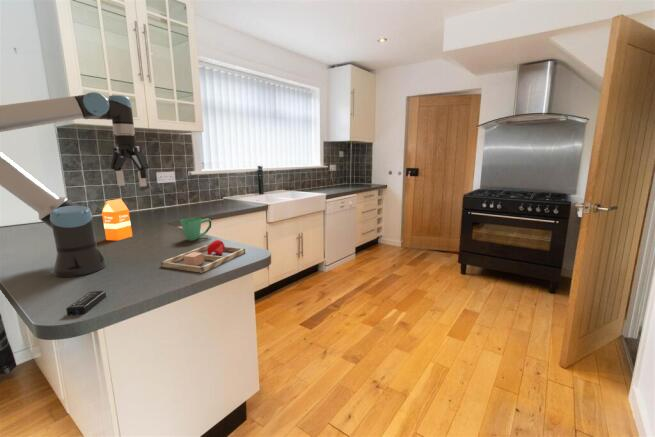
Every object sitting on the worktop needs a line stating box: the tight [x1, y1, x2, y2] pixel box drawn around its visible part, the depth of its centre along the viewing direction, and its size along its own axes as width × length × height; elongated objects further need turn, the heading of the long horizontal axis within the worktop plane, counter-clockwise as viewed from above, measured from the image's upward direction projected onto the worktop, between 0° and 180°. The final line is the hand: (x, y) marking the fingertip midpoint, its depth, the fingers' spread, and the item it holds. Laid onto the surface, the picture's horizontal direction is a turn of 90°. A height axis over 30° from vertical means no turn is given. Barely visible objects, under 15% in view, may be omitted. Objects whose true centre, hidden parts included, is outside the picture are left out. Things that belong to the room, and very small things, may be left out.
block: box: [183, 252, 205, 266], centre depth 122 cm, size 5×5×4 cm
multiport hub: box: [66, 290, 107, 316], centre depth 89 cm, size 4×11×2 cm, turn 8°
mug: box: [180, 217, 212, 241], centre depth 160 cm, size 15×10×10 cm
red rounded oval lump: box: [206, 239, 225, 256], centre depth 132 cm, size 8×6×6 cm
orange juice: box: [101, 198, 133, 241], centre depth 163 cm, size 8×9×20 cm
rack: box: [160, 244, 246, 274], centre depth 127 cm, size 25×20×2 cm
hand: (132, 186), depth 137 cm, fingers open, 13 cm apart
